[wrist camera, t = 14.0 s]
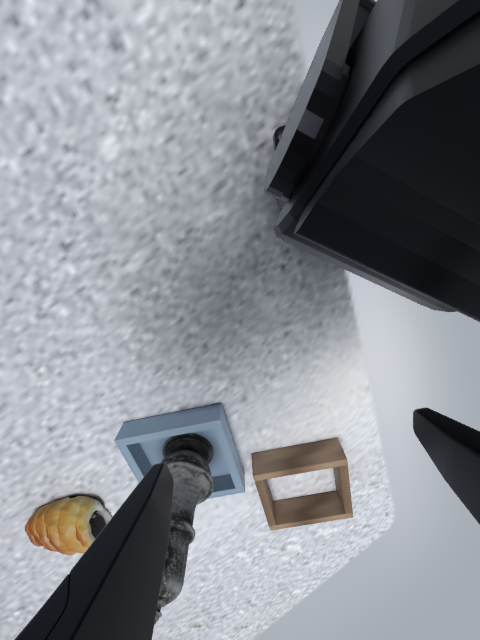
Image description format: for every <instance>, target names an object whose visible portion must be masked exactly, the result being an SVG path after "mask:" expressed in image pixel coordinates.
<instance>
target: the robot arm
mask: <svg viewBox="0 0 480 640" xmlns="http://www.w3.org/2000/svg"><path fill="white" fill-rule="evenodd" d="M280 133H282V136H281V138H280V140H279V139H278V134H280ZM273 142H274V149H275V153H274V155H273V158H272V160H271V162H270V165H269V169H268V174H267V179H266V184H265V190H264V192H266V193H268V194H270V195H272V196H274V197H276V198H277V204H278V207H279V208H280V209H281V212H280V214H279V216H278V218H277V221H276V223H275V225H274V230H275V233H276V236H277V237H279V238H281V239H283V241H286V242H288V243H290V244H292V245H294V246H296V247H298V248H300V249H303V250H305V251H307V252H309V253H311V254H313V255H315V256H318V257H320V258H322V259H324V260H326V261H328V262H330V263H333V264H335V265H337V266H339V267H341V268H343V269H345V270H348V271H350V272H352V273H354V274H356V275H358V276H360V277H363V278H365V279H367V280H369V281H371V282H373V283H375V284H378V285H380V286H382V287H384V288H386V289H388V290H391V291H393V292H395V293H397V294H399V295H401V296H403V297H406V298H407V299H410V300H412V301H414V302H416V303H418V304H420V305H423V306H426V307H428V308H430V309H433V310H439V311H445V312H455V311H458V312H460V313H462V314H464V315H466V316H468V317H471V318H473V319H475V320H477V321H479V322H480V0H378V1H377V2H375V1H374V0H340V1H339V3H338V5H337V7H336V10H335V12H334V14H333V16H332V18H331V20H330V23H329V25H328V27H327V29H326V31H325V34H324V36H323V38H322V40H321V42H320V44H319V47H318V49H317V51H316V54H315V56H314V59H313V61H312V64H311V66H310V69H309V71H308V73H307V76H306V78H305V80H304V83H303V85H302V88H301V90H300V92H299V95H298V97H297V100H296V102H295V105H294V107H293V109H292V112H291V114H290V117H289V119H288V121H287V124H286V125H285V126H282V127H279V128H277V130H276V131H275V133H274V136H273ZM413 429H414V432H415V434H416V436H417V438H418V439H419V441H420V442H421V444H422V445H423V447H424V448H425V450H426V452H427V453H428V455H429V456H430V458H431V459H432V461H433V462H434V464H435V465H436V467H437V468H438V470H439V472H440V473H441V474H442V476H443V478H444V479H445V480H446V482H447V483H448V484H449V486H450V487H451V488H452V490H453V491H454V492H455V493H456V495H457V496H458V497H459V499H460V500H461V501H462V502H463V504H464V505H465V506H466V508H467V509H468V510H469V511H470V513H471V514H472V515H473V517H474V518H475V519H476V520H477V522H478V523H479V524H480V431H477V430H475V429H473V428H471V427H469V426H466V425H464V424H462V423H460V422H457V421H455V420H453V419H451V418H449V417H447V416H444V415H442V414H440V413H438V412H436V411H433V410H431V409H429V408H421V409H417V410H414V412H413ZM173 487H174V480H173V476H172V474H171V472H170V470H169V468H168V466H167V464H166V463H165V462H162V463H157V464H154V465H153V466H152V467H151V469H150V470H149V471H148V472H147V474H146V475H145V476H144V478H143V479H142V480H141V481H140V483H139V484H138V485H137V487H136V488H135V489H134V490H133V492H132V493H131V494H130V496H129V497H128V498H127V499H126V501H125V502H124V503H123V504H122V506H121V507H120V508H119V510H118V511H117V512H116V513H115V515H114V516H113V517H112V519H111V520H110V521H109V522H108V524H107V525H106V526H105V528H104V529H103V530H102V531H101V533H100V534H99V535H98V537H97V538H96V539H95V540H94V542H93V543H92V544H91V545H90V547H89V548H88V549H87V551H86V552H85V553H84V554H83V556H82V557H81V558H80V560H79V561H78V562H77V563H76V565H75V566H74V567H73V569H72V570H71V571H70V574H68V575H67V576H66V577H65V579H64V580H63V581H62V583H61V584H60V585H59V586H58V588H57V589H56V590H55V591H54V593H53V594H52V595H51V596H50V598H49V599H48V600H47V601H46V603H45V604H44V605H43V606H42V608H41V609H40V610H39V611H38V613H37V614H36V615H35V616H34V617H33V619H32V620H31V621H30V622H29V623H28V624H27V626H26V627H25V628H24V629H23V630H22V632H21V633H20V634H19V635H18V636H17V637H16V639H15V640H152V634H153V628H154V622H155V617H156V611H157V605H158V599H159V593H160V587H161V582H162V576H163V570H164V564H165V558H166V552H167V547H168V541H169V534H170V525H171V513H172V500H173Z"/></svg>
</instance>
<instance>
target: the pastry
mask: <svg viewBox="0 0 480 640" xmlns="http://www.w3.org/2000/svg"><path fill="white" fill-rule="evenodd" d="M111 519H112V516H111V514H110V513H109V512H108V511H107V510H106V509H105V508H103V506H102V504H101V503H100V502H99V501H98V500H96V499H93V498H92V497H90V496H79V495H78V496H77V497H74V498H69V497H66V498H62V499H60V500H56V501H54V502H51V503H49V504H46V505H44V506H42V507H40V508H39V509H38V510H37V511H36V512H35V513H34V514H33V515H32V516H31V517H30V518H29V520H28V522H27V524H26V526H25V531H26V533H27V535H28V536H29V539H30V541H31V542H32V543H33V544H34V545H36V546H44V548H45V549H48V550H50V551H57V552H60V553H62V554H67V555H73V554H75V553H76V552H77V553H85V552H86V551H87V549H88V548H89V547H90V545H91V544H92V543H93V542H94V540H95V539H96V538H97V537H98V535H99V534H100V533H101V531H102V530H103V529H104V528H105V526H106V525H107V524H108V522H109V521H110V520H111Z"/></svg>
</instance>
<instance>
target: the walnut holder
mask: <svg viewBox="0 0 480 640" xmlns="http://www.w3.org/2000/svg"><path fill="white" fill-rule="evenodd" d="M333 467H334V474H335V482H336V489H337V491H333V492H327V493H321V494H315V495H309V496H303V497H297V498H291V499H285V500H279V501H273V499H272V496H271V493H270V489H269V486H268V482H267V479H270V478H276V477H281V476H287V475H293V474H299V473H304V472H310V471H316V470H321V469H327V468H333ZM252 468H253V477H254V480H255V484H256V487H257V490H258V493H259V496H260V499H261V502H262V506H263V509H264V512H265V515H266V518H267V521H268V524H269V528H270V531H271V530H277V529H283V528H289V527H296V526H302V525H308V524H314V523H321V522H327V521H333V520H339V519H345V518H352V517H353V511H352V502H351V492H350V482H349V473H348V463H347V458H346V456H345V453H344V451H343V449H342V447H341V445H340V442H339V440H338V438H334V439H329V440H323V441H318V442H312V443H307V444H302V445H296V446H291V447H285V448H280V449H274V450H269V451H264V452H258V453H253V454H252Z"/></svg>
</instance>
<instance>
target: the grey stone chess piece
mask: <svg viewBox="0 0 480 640" xmlns="http://www.w3.org/2000/svg"><path fill="white" fill-rule="evenodd" d="M162 453H163V457H164V459H163V460H162V461H161V463H162V462H165V463H166V464H167V466H168V468H169V470H170V472H171V474H172V476H173V480H174V487H173V500H172V513H171V525H170V534H169V541H168V547H167V552H166V558H165V564H164V570H163V576H162V582H161V587H160V593H159V599H158V605H157V611H156V617H155V622H154V624H156V622H157V621H158V619H159V617H160V616H161V615H162V614H161V612H160V609H161V607H164V606H165V605H166V604H169V603H170V602H172V601H173V600H175V599H176V598H177V596H178V595H179V594H180V592H181V590H182V586H183V582H184V575H185V568H186V561H187V554H188V547H189V544H190V543H192V541H193V540H194V538H195V530H194V529H193V527H192V526H193V518H194V511H195V507H196V505H197V504H199V503H202V502H204V501H205V500H206V499H207V498H209V497H210V495H211V494H212V492H213V489H214V481H213V478H212V476H211V471H210V468H209V465H208V464H209V463H210V462H211V460H212V459H213V455H214V450H213V446H212V445H211V443H210V442H209V441H208V440H207V439H206V438H204V437H203V436H201V435H198V434H195V433H186V434H181V435H176V436H172V437H170V438H169V439H168V440H166V441H165V443H164V445H163V450H162Z"/></svg>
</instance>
